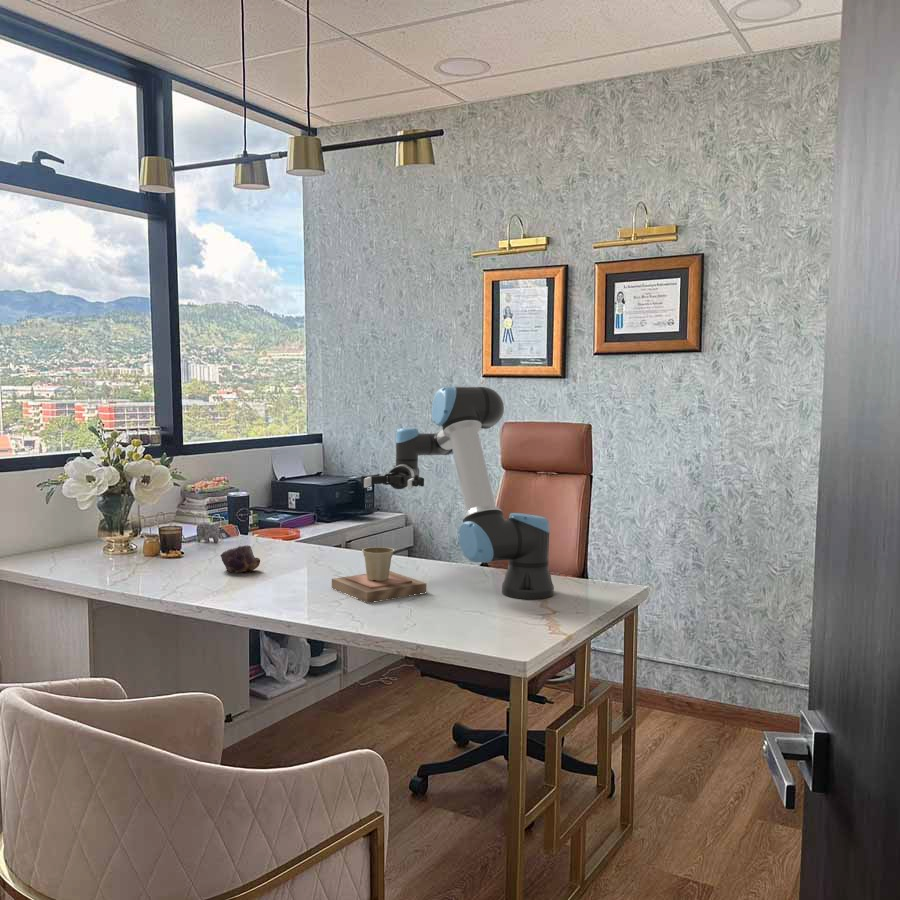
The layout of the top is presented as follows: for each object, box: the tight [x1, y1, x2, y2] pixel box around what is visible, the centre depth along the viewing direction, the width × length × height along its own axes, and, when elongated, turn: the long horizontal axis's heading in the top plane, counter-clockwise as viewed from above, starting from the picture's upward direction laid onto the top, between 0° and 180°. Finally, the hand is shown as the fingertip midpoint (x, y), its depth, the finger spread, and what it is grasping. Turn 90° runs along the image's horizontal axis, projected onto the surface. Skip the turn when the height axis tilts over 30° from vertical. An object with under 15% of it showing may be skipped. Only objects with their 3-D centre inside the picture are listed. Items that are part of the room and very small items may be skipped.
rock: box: [220, 544, 261, 574], centre depth 267 cm, size 12×9×10 cm
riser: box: [331, 570, 427, 603], centre depth 245 cm, size 20×20×4 cm
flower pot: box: [361, 546, 395, 581], centre depth 244 cm, size 9×9×9 cm
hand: (386, 484), depth 255 cm, fingers open, 13 cm apart
